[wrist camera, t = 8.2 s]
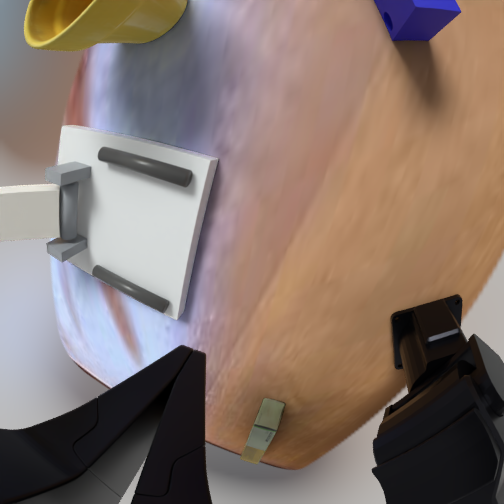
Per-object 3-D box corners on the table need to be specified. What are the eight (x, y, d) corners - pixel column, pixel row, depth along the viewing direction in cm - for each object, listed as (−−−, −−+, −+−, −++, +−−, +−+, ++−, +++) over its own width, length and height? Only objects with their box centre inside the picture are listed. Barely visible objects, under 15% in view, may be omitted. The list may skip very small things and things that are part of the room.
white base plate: (218, 158, 18) (185, 165, 14) (184, 311, 25) (157, 344, 20) (73, 124, 20) (33, 129, 16) (67, 249, 26) (36, 267, 22)
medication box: (263, 395, 27) (253, 423, 24) (286, 401, 27) (279, 430, 23) (247, 438, 32) (238, 460, 29) (265, 443, 32) (258, 466, 28)
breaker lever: (79, 186, 19) (-18, 192, 13) (77, 239, 21) (-11, 245, 15) (78, 179, 20) (-12, 184, 14) (76, 230, 22) (-7, 235, 17)
